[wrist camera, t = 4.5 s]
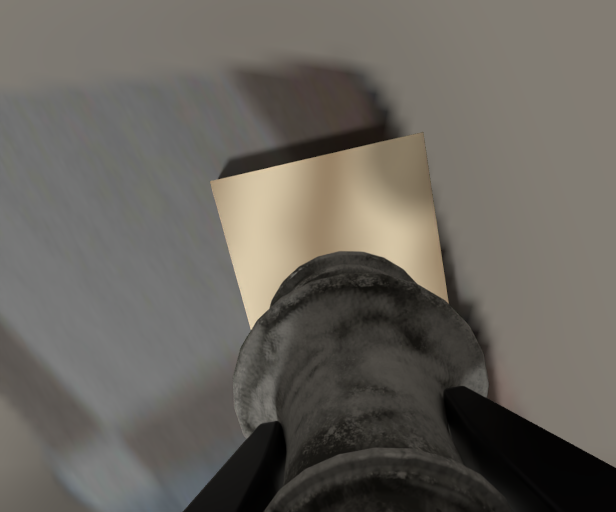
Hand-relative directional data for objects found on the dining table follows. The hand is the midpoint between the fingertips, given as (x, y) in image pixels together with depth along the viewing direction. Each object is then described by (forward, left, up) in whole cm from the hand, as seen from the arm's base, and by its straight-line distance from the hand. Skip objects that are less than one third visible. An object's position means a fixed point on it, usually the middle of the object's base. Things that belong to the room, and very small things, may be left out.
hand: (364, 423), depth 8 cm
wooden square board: (0, -1, -12) cm, 12 cm away
